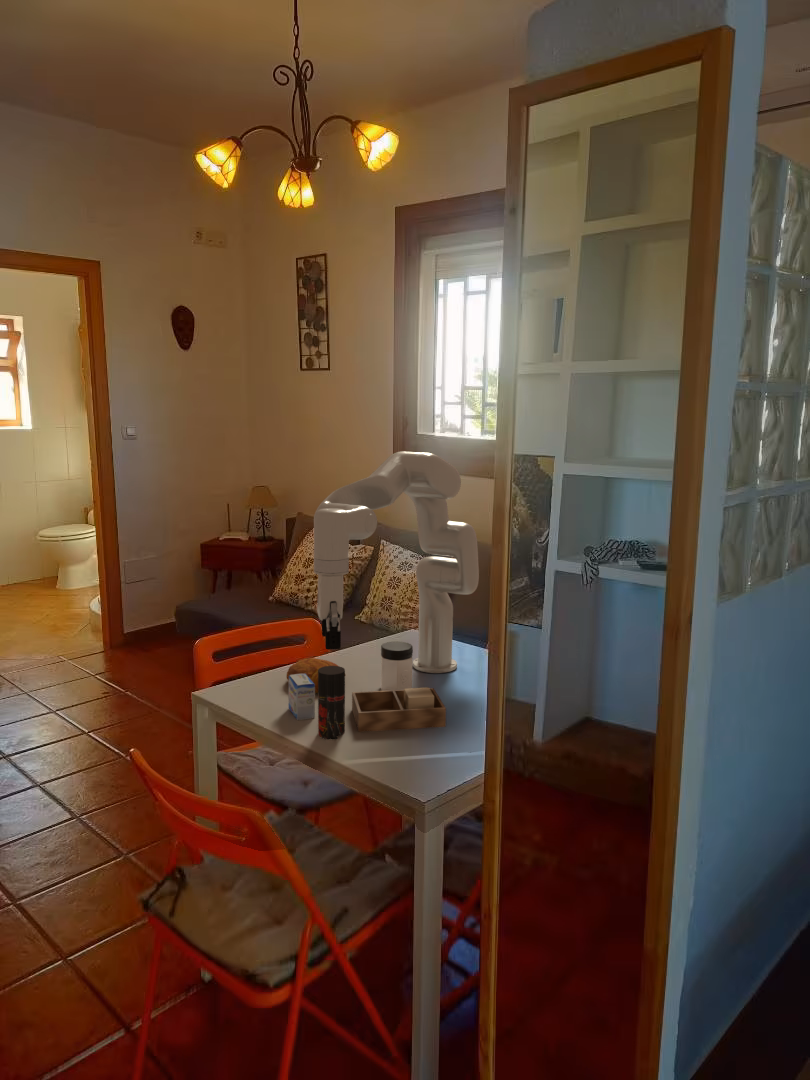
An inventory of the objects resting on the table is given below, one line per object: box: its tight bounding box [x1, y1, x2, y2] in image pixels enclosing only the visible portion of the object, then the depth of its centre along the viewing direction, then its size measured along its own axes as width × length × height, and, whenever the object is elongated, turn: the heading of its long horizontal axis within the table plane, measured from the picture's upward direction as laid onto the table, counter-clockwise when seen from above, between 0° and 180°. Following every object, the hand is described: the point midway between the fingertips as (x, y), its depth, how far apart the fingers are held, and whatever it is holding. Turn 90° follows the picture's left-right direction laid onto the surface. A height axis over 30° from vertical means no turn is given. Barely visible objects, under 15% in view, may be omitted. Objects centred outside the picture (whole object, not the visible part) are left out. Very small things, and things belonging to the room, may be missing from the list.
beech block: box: [404, 686, 434, 710], centre depth 186 cm, size 6×6×6 cm
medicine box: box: [288, 674, 316, 721], centre depth 188 cm, size 8×4×9 cm, turn 23°
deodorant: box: [317, 665, 346, 740], centre depth 176 cm, size 6×6×15 cm
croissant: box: [286, 657, 341, 694], centre depth 208 cm, size 14×16×8 cm
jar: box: [380, 641, 414, 691], centre depth 204 cm, size 9×8×12 cm
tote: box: [351, 687, 447, 733], centre depth 185 cm, size 20×13×5 cm, turn 100°
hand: (331, 642), depth 173 cm, fingers open, 9 cm apart
